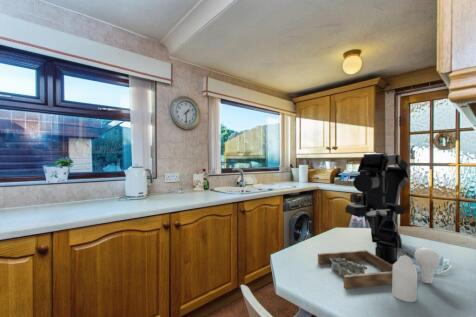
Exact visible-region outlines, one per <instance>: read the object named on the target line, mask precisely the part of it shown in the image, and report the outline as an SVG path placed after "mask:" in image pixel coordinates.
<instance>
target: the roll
mask: <svg viewBox="0 0 476 317" xmlns="http://www.w3.org/2000/svg"><path fill="white" fill-rule="evenodd" d="M392 265H393V269H392V284H391V285H392V286H391V288H392V289H391V292H392V296H393V297H394V298H396V299H397V300H400V301H404V302H407V303H413V302H416V301H417V299H418V298H417V297H418V296H417V294H418V293H417V292H418V271H417V269H416V266H415V264H414V262H413V261H412V259H411V258H410V256H408V255H406V254H405V255H400V256H399V257H398V258H397V261H396V262H395V263H394V264H392Z"/></svg>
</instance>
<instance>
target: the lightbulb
mask: <svg viewBox="0 0 476 317" xmlns="http://www.w3.org/2000/svg"><path fill="white" fill-rule="evenodd" d="M414 259H415V261H416V263H417V264H418V266H419V269H420V271H419V272H420V274H421V281H422V282H424V283H426V284H431V283H433V277H434V272H435V270H436V268H438V266H440V265H439V264H440V262H441V259H440V256H439V254H438V253H437V251H435V250H434V249H432V248H429V247H425V246H423V247H419V248H418V249H416V250H415V252H414Z"/></svg>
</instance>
